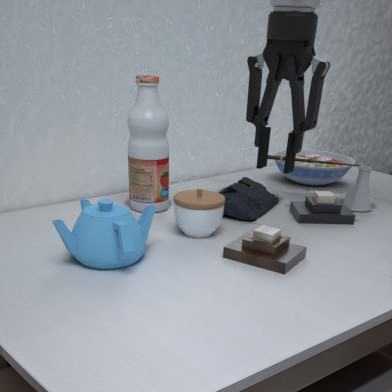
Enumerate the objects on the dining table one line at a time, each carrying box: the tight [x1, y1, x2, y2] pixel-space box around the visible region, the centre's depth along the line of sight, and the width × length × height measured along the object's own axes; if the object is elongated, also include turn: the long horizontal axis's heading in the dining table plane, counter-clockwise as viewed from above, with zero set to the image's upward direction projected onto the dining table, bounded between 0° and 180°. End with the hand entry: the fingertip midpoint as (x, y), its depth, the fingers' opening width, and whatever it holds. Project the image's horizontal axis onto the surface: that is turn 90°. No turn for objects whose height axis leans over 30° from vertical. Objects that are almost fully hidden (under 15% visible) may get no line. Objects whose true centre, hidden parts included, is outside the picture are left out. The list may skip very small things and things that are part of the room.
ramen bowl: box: [267, 148, 361, 187], centre depth 143 cm, size 25×23×8 cm
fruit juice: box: [126, 74, 170, 213], centre depth 114 cm, size 9×9×28 cm
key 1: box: [252, 224, 282, 244], centre depth 95 cm, size 4×4×2 cm
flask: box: [342, 165, 373, 213], centre depth 125 cm, size 7×7×10 cm
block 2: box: [289, 195, 356, 225], centre depth 119 cm, size 13×10×4 cm
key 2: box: [312, 190, 336, 204], centre depth 118 cm, size 4×4×2 cm
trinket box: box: [172, 187, 225, 239], centre depth 105 cm, size 11×11×9 cm
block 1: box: [222, 232, 308, 276], centre depth 97 cm, size 13×10×4 cm
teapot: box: [51, 198, 156, 270], centre depth 92 cm, size 15×15×11 cm
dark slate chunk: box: [218, 176, 280, 222], centre depth 124 cm, size 15×22×5 cm
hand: (274, 169), depth 89 cm, fingers open, 4 cm apart
